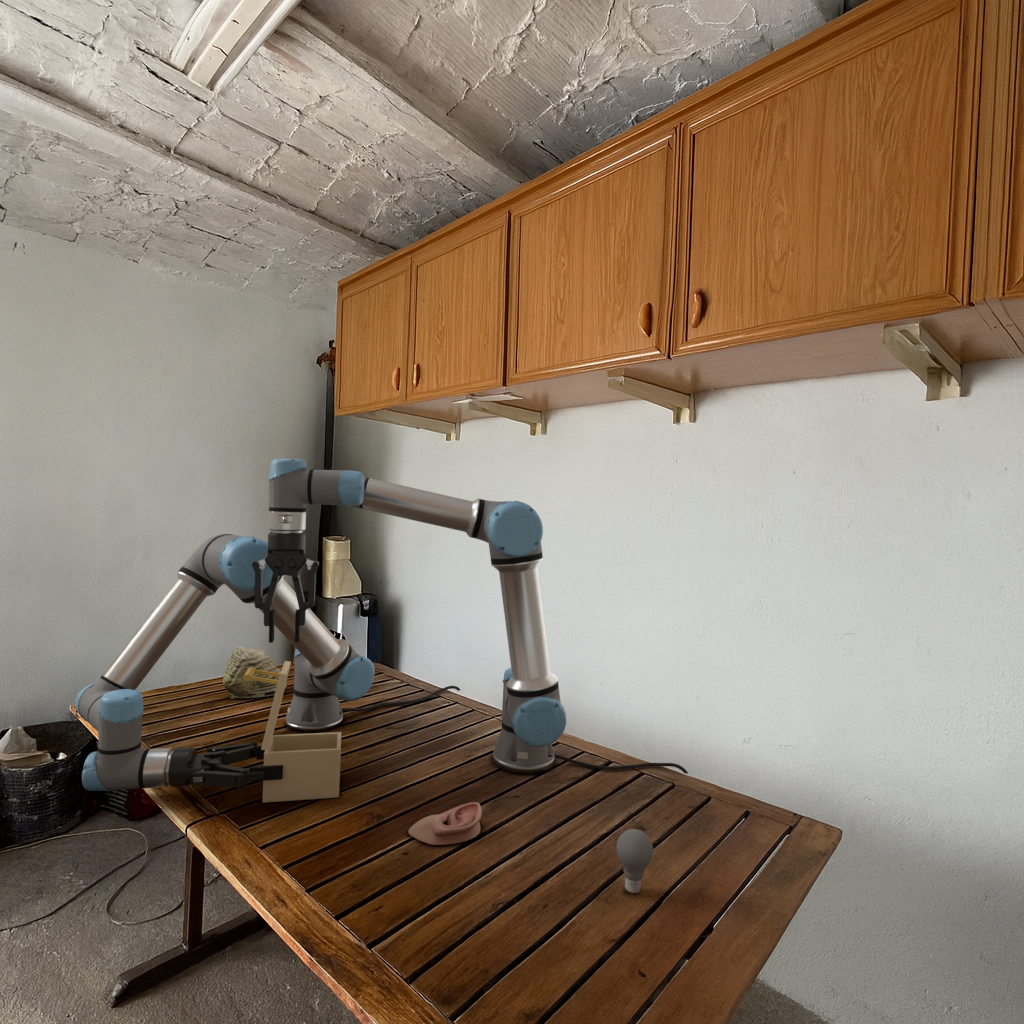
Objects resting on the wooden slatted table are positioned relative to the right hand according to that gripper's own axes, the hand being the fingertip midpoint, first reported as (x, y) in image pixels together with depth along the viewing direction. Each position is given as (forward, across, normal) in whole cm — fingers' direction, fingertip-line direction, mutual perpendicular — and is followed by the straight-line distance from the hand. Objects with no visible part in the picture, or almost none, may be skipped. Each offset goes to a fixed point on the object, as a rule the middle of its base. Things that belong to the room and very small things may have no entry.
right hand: (284, 640), depth 135 cm
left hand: (+26, +1, 0) cm, 26 cm away
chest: (+32, +4, 0) cm, 33 cm away
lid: (+14, -1, 0) cm, 14 cm away
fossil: (+32, -15, +68) cm, 77 cm away
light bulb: (+33, +60, -46) cm, 83 cm away
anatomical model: (+33, +32, -22) cm, 51 cm away
